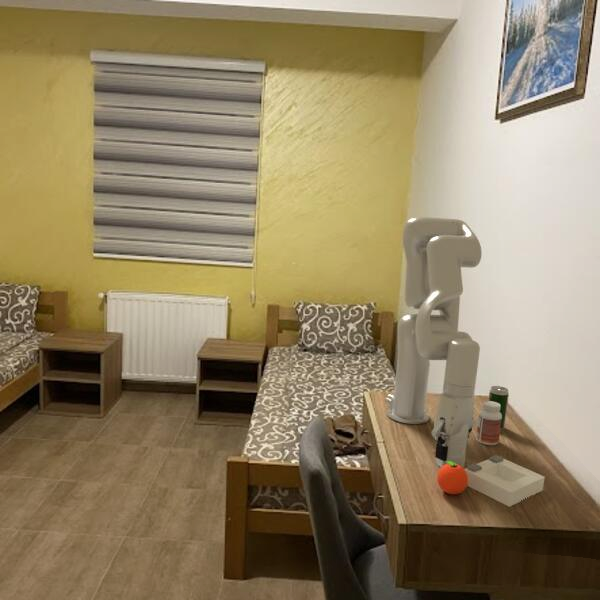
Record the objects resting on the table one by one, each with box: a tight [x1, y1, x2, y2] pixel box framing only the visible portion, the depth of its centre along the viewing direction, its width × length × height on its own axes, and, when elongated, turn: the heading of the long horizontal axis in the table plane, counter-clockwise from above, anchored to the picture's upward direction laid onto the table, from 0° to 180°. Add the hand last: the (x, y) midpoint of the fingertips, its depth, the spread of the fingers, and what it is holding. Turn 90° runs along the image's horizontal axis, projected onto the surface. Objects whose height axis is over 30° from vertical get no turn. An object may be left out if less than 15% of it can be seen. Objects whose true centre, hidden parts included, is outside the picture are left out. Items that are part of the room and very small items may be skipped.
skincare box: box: [435, 423, 469, 469], centre depth 158 cm, size 6×4×12 cm
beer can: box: [487, 385, 510, 431], centre depth 185 cm, size 5×5×12 cm
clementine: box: [436, 461, 468, 495], centre depth 145 cm, size 8×7×7 cm
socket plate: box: [464, 454, 546, 507], centre depth 149 cm, size 13×14×4 cm
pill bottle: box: [475, 400, 502, 446], centre depth 175 cm, size 6×6×11 cm
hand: (450, 455), depth 159 cm, fingers closed on skincare box, 7 cm apart
